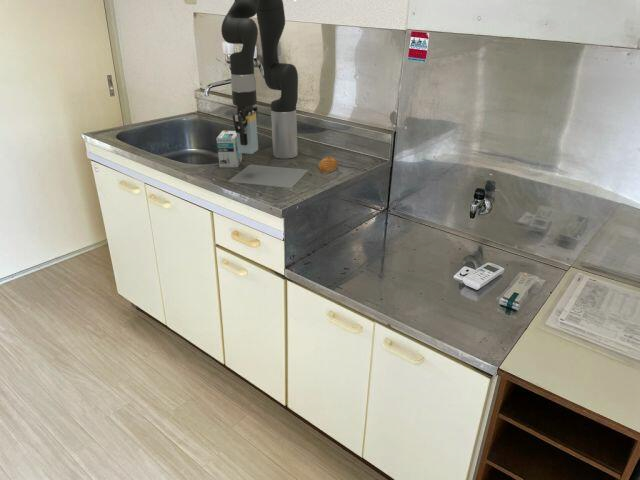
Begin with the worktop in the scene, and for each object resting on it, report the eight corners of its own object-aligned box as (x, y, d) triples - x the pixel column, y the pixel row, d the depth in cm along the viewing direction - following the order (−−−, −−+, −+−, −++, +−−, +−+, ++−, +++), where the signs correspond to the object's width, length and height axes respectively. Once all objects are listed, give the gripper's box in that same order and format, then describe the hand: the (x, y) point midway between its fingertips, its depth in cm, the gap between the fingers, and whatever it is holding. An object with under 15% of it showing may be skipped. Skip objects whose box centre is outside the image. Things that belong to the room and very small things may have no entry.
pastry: (336, 175, 163) (336, 164, 162) (316, 175, 164) (316, 164, 162) (338, 166, 172) (338, 156, 170) (319, 166, 172) (319, 156, 171)
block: (244, 148, 160) (241, 112, 155) (258, 149, 159) (256, 113, 154) (237, 152, 156) (234, 115, 151) (252, 153, 155) (249, 116, 149)
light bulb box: (237, 168, 170) (235, 138, 165) (218, 168, 171) (215, 138, 166) (242, 158, 180) (240, 130, 175) (224, 158, 180) (222, 130, 175)
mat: (250, 165, 172) (250, 164, 172) (308, 171, 167) (308, 169, 167) (227, 182, 157) (227, 181, 157) (291, 189, 151) (291, 187, 151)
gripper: (242, 84, 156) (246, 136, 163) (222, 92, 143) (227, 147, 151) (263, 85, 154) (266, 138, 161) (245, 93, 141) (249, 149, 149)
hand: (247, 142), depth 156 cm, fingers closed on block, 5 cm apart
